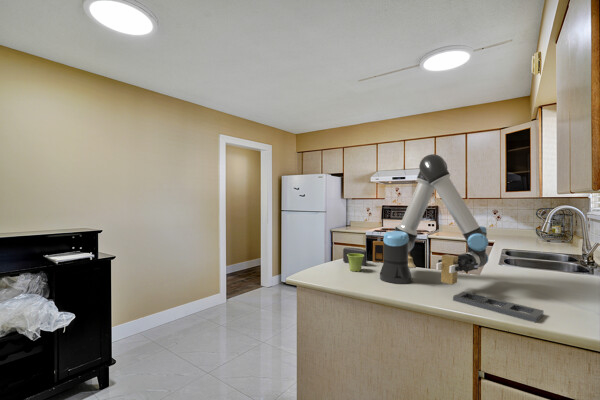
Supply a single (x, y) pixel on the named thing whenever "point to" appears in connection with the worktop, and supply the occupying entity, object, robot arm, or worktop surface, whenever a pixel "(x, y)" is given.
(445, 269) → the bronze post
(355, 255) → the plant pot
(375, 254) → the multimeter
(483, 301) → the grey slotted tray
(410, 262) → the hand bell
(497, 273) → the worktop surface
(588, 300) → the worktop surface
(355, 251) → the leaning round-cornered charcoal block
